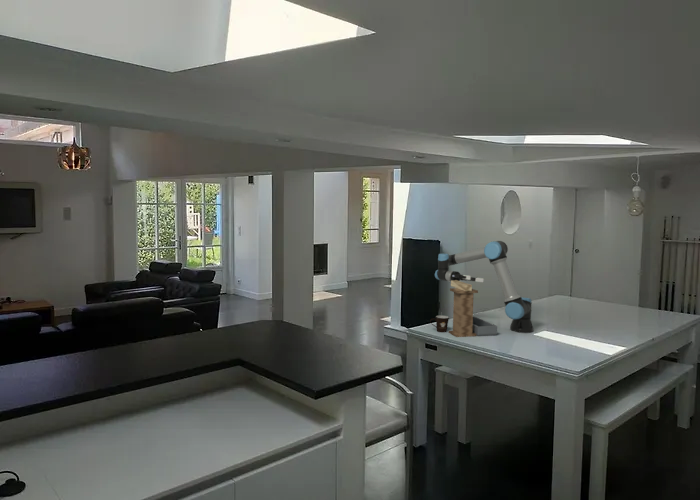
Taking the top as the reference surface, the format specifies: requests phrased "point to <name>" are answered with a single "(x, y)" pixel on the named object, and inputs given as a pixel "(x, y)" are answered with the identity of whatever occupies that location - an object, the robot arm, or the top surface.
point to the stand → (463, 313)
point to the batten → (461, 285)
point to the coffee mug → (441, 323)
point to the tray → (483, 327)
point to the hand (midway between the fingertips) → (477, 279)
